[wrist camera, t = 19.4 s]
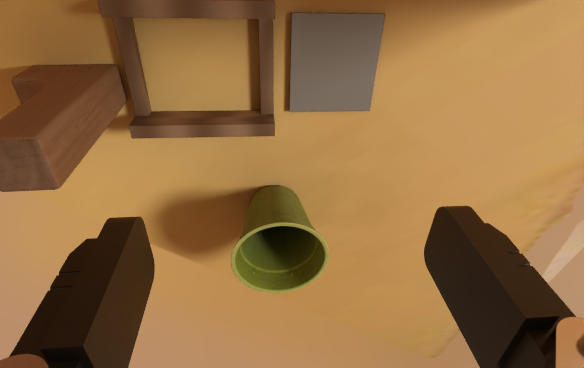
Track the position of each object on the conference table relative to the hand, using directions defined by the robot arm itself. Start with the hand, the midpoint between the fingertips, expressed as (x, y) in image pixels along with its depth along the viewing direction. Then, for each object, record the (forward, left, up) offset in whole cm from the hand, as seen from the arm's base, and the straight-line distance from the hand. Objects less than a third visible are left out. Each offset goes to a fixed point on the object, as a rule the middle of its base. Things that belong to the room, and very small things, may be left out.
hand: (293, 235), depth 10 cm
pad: (-8, +5, -34) cm, 35 cm away
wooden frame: (+7, +5, -34) cm, 35 cm away
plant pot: (-1, +25, -34) cm, 43 cm away
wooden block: (+20, +7, -34) cm, 41 cm away
